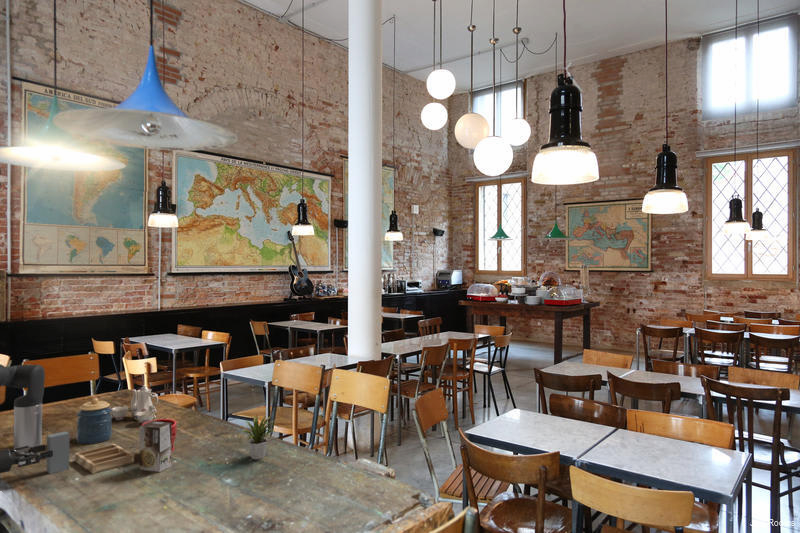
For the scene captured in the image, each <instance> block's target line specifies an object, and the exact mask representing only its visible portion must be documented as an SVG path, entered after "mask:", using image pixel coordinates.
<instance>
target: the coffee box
mask: <svg viewBox="0 0 800 533" xmlns="http://www.w3.org/2000/svg"><path fill="white" fill-rule="evenodd" d="M171 430H172V423H169V422H158V421H150V422H148V423H146V424H144V425H142V424H141V425H139V470H141V471H149V472H157V473H160V472H163V471H165V470H166V469H168V468H171V467H172V452H171Z"/></svg>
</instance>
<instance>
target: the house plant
mask: <svg viewBox="0 0 800 533" xmlns="http://www.w3.org/2000/svg"><path fill="white" fill-rule="evenodd" d="M270 419H271V416H269V417H267V414H265V415H264V417H263V418H262V419H261V421H260V422H259V419H258V414H256V415H254V416H253V420H251V422H252V424H253V425H252V424H251V423H250V421H248V420H245V422H246V423H247V424H245V427H247V428H248V429H249V430H250V431H251V432H250V431H249V430H245V429H243V430H242V431H241V432H243V433H247V434H249V435H248V439H247V441H248V446H249V448H248V449H249V452H250V458H251V459H252V460H261V459H264V458H265V456H266V450H267V446H268V445H267V444H268V439H267V438H265V437H266V436H267V437H268V438H270V434H272V433H275V432H274V428H269V427H272V426H274V425H277V423H274V422H275V421H277V419H275V420H272V421H269V420H270ZM268 421H269V422H268Z"/></svg>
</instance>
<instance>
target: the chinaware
mask: <svg viewBox="0 0 800 533" xmlns="http://www.w3.org/2000/svg"><path fill="white" fill-rule="evenodd" d="M132 392H133V395H132V399H131V403H130V407H129V406H128V405H124V406H118V405H117V406H114V407H113V408H111V409H112V411H111V416H112V418H114V419H115V421H122V420H123V419H124V418H125V417H126V416H127V414H128V411H129V410H131V414H130V415H131V416H132V417H133V418H134V420H135V421H138V422H140V424H143V423H145V422H148V421H152V420H153V419H154V418H155V419H154V420H157V416H156V415H155V414H157V411H158V410H157V408H156V406H157V405H158V403H159V396H158V394H157V393H156V392H152V388H148V387H147V386H146V385H145V384H143V386H142V387H140V389H138V390H136V389H135V388H133V389H132ZM153 395H154V396H155V398H156V401H155V404H153V402H152V398H151V397H152V396H153Z"/></svg>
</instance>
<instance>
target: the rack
mask: <svg viewBox="0 0 800 533" xmlns="http://www.w3.org/2000/svg"><path fill="white" fill-rule="evenodd" d="M74 462H75V463H77V464H78V465H80V466H81V467H82V468H84V469H85V470H87V471H88V472H90V473H91V474H92V475H95V474H97V473H101V472H105V471H109V470H112V469H116V468H119V467H123V466H127V465H130V464H133V463H135V454H134V453H133V452H132V451H131V452H130V451H129V450H127V449H125V448H123V447H121V446H120V445H118V444H116V443H112V444H111V443H110V444H107V445H104V446H99V447H96V448H90V449H87V450H82V451H79V452H76V453H74Z"/></svg>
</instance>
